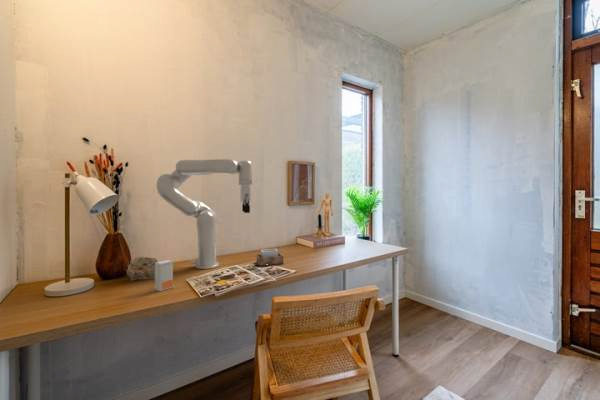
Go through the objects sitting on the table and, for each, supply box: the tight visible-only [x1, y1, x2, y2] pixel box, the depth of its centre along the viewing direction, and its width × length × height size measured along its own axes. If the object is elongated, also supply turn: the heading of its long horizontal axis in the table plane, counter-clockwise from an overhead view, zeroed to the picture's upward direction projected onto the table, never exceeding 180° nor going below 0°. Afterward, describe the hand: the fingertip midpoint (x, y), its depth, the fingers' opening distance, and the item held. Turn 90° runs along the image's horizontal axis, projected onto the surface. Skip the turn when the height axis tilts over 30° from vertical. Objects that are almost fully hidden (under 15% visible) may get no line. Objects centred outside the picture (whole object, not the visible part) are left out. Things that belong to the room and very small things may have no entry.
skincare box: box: [154, 259, 174, 292], centre depth 120 cm, size 6×4×12 cm
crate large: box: [256, 252, 284, 266], centre depth 161 cm, size 14×10×4 cm
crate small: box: [260, 248, 279, 258], centre depth 161 cm, size 9×6×7 cm
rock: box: [125, 256, 158, 281], centre depth 139 cm, size 21×14×10 cm
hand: (246, 212), depth 158 cm, fingers open, 9 cm apart
